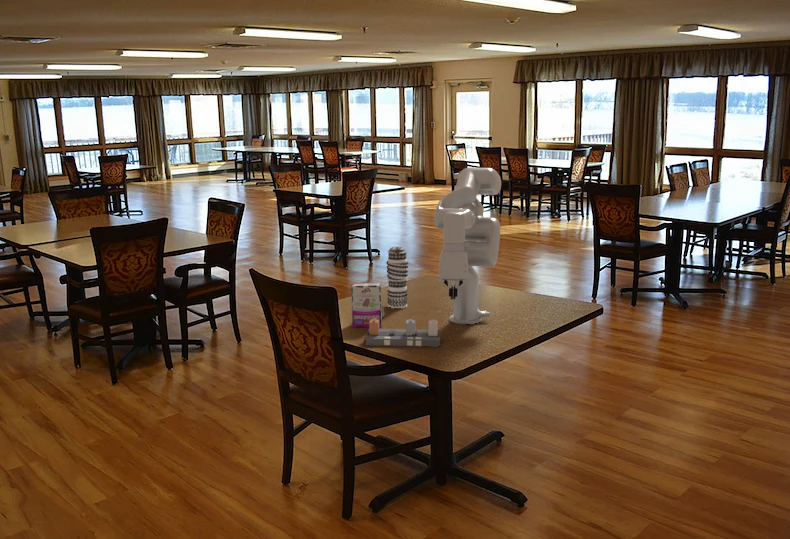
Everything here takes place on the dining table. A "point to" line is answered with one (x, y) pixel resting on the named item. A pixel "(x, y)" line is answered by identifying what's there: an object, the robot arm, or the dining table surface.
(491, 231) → the robot arm
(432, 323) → the slider ivory
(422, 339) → the switch unit
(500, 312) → the dining table surface
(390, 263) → the decorative candle
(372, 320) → the slider rust
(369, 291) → the candy bar box
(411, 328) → the slider grey
